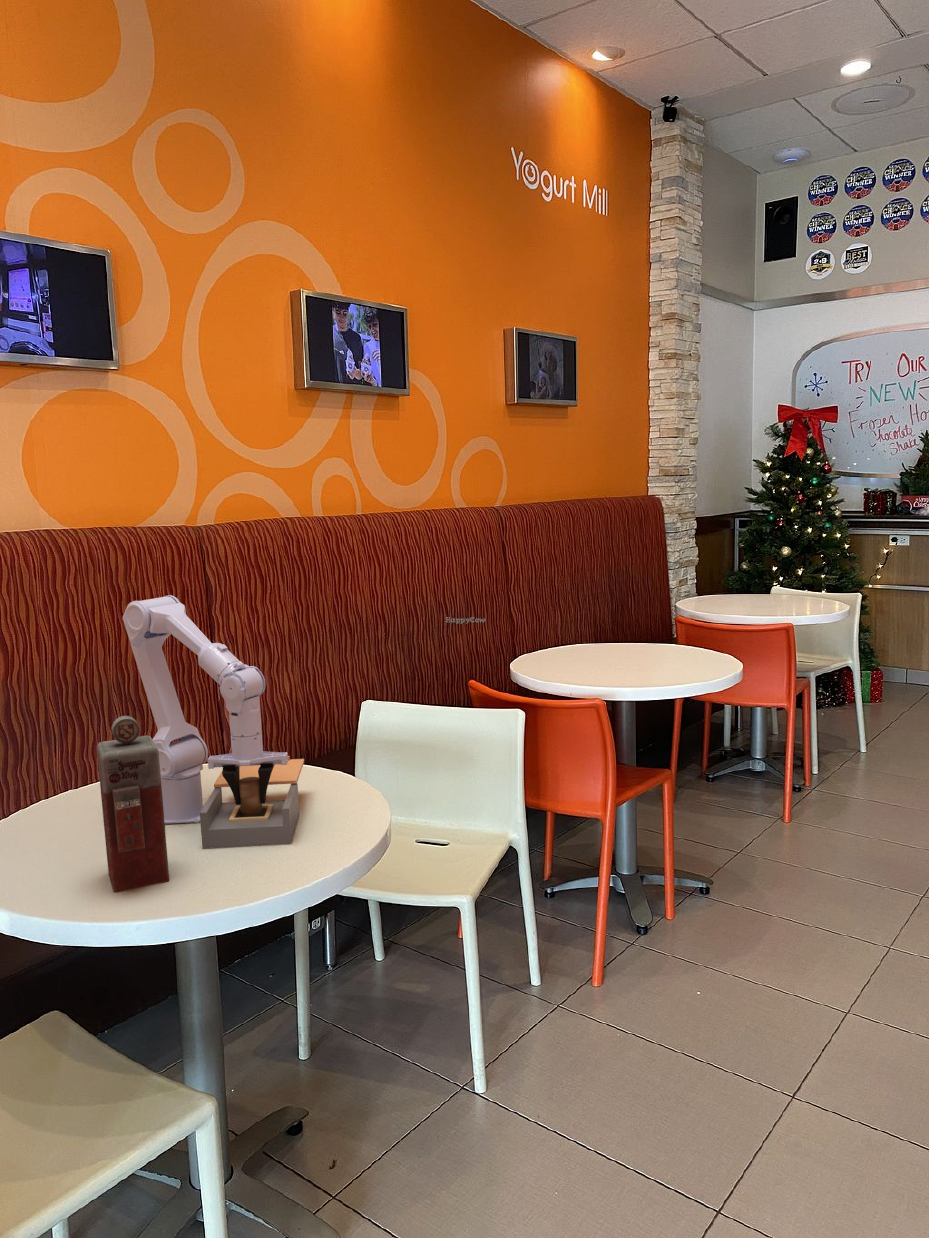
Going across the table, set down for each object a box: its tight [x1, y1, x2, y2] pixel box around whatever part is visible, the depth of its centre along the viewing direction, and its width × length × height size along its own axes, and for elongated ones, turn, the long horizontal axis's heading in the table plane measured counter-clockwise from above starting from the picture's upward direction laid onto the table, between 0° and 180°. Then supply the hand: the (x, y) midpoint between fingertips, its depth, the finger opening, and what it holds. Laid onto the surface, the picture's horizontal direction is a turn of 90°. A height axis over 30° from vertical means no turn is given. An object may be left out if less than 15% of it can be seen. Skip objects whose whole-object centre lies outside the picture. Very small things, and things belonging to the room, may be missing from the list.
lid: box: [213, 755, 305, 788], centre depth 190 cm, size 16×14×1 cm
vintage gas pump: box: [96, 715, 170, 893], centre depth 156 cm, size 9×11×28 cm
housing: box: [199, 782, 300, 849], centre depth 178 cm, size 16×14×7 cm
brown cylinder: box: [239, 777, 262, 815], centre depth 177 cm, size 4×4×6 cm
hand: (251, 802), depth 177 cm, fingers closed on brown cylinder, 4 cm apart
